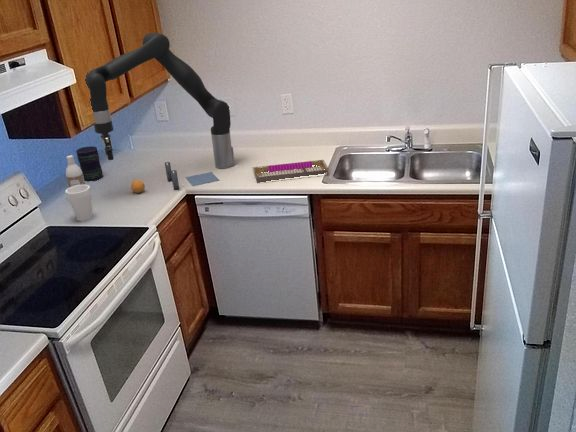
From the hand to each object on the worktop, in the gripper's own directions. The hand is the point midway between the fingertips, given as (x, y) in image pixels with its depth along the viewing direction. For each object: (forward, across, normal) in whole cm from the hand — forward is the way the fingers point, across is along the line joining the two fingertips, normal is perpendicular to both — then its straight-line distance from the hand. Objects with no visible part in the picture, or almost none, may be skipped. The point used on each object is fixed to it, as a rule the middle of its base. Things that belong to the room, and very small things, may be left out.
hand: (109, 157), depth 229 cm
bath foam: (+19, +8, +16) cm, 26 cm away
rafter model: (+19, -18, -78) cm, 82 cm away
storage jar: (+19, +32, +8) cm, 38 cm away
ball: (+16, 0, -9) cm, 18 cm away
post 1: (+18, +6, -25) cm, 32 cm away
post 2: (+18, -7, -25) cm, 32 cm away
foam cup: (+19, -16, +16) cm, 30 cm away
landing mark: (+18, 0, -39) cm, 43 cm away
